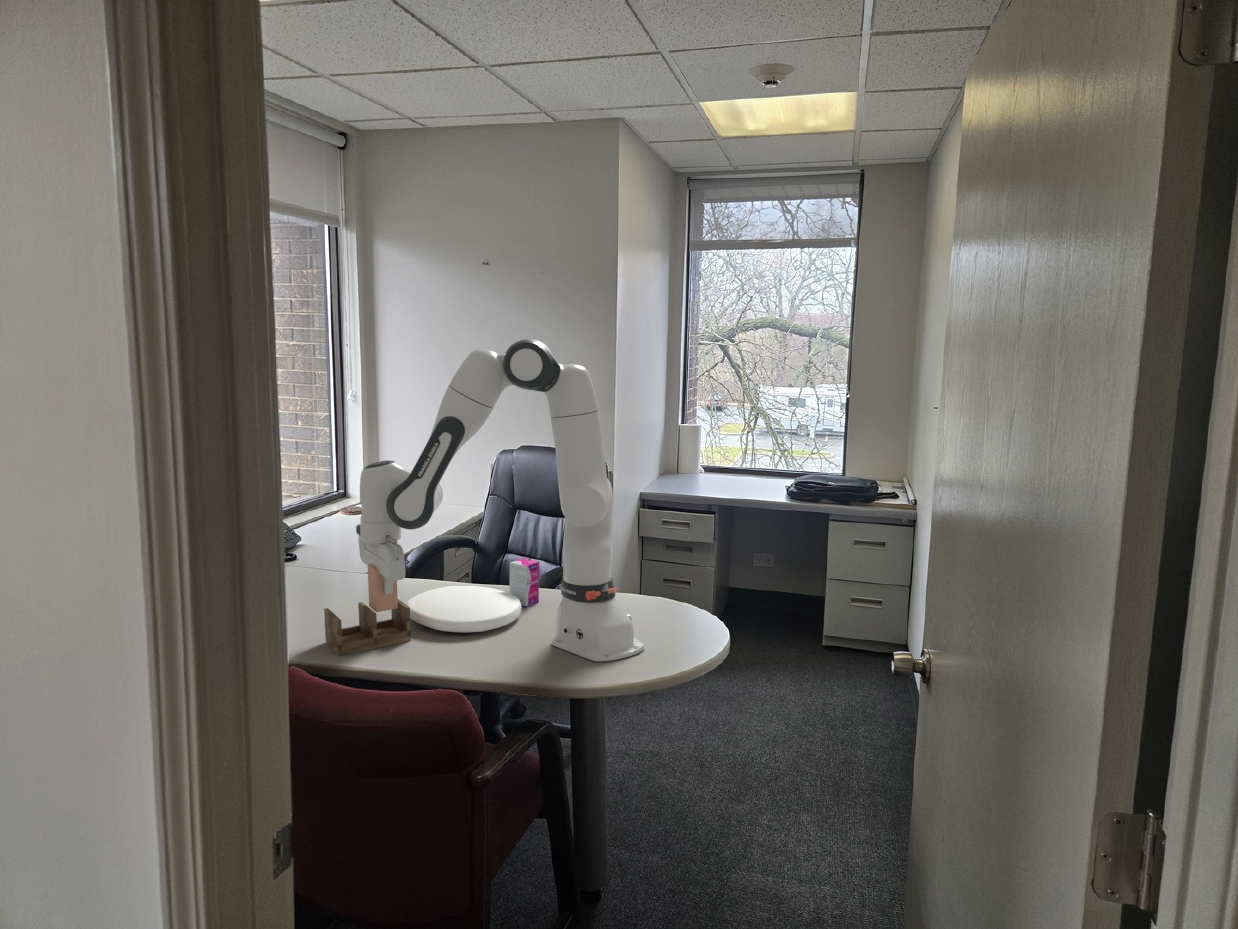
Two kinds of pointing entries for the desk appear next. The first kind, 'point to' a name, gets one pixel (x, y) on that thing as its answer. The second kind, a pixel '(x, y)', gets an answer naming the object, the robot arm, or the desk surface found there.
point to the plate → (464, 608)
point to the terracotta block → (380, 592)
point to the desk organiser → (367, 630)
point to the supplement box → (525, 581)
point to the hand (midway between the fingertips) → (383, 590)
